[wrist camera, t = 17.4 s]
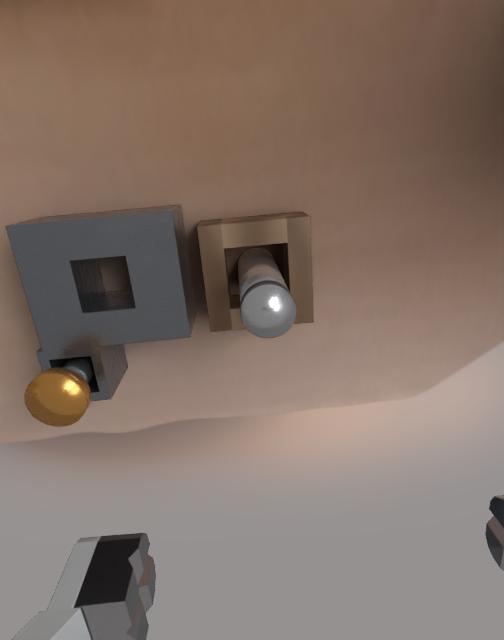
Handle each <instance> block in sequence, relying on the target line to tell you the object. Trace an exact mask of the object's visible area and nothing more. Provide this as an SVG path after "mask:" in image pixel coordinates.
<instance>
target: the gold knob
mask: <svg viewBox="0 0 504 640" xmlns="http://www.w3.org/2000/svg"><path fill="white" fill-rule="evenodd" d="M94 374H95V371H94V367H93V363H92V360H91V356H85V357H74V358H70V359H69V361H68V362H67V363H66V364H65V365H64V366H63V368H59V367H58V368H50V369H47V370H44V371H43V372H41V373H40V374H39V375H38V376H37V377H36V378H35V379H34V380H33V381H32V382H31V383H30V384H29V385H28V387H27V389H26V391H25V404H26V406H27V408H28V410H29V412H30V413H31V414H32V415H33V416H34V417H35V418H36V419H38V420H39V421H41V422H43V423H45V424H47V425H51V426H68V425H71V424H73V423H75V422H77V421H78V420H79V419H80V418H81V417H82V416H83V414H84V412H85V411H86V409H87V408H88V406H89V404H90V401H91V390H90V387H89V385H88V382H89V381H90V379H91V378H92V377H93V375H94Z"/></svg>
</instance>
